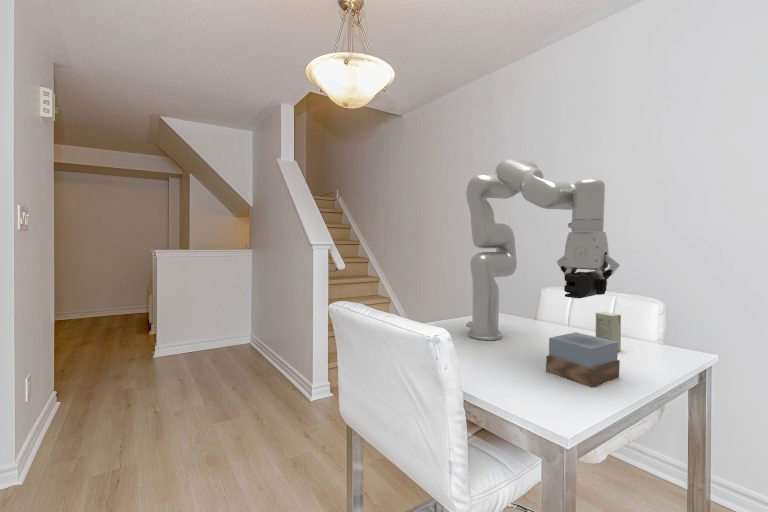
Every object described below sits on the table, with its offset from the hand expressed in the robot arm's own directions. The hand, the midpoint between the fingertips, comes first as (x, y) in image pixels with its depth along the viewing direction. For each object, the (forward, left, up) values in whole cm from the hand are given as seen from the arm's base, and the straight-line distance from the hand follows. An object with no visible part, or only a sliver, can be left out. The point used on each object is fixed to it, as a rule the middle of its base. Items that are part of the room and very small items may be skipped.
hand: (585, 291), depth 104 cm
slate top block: (0, 0, -18) cm, 18 cm away
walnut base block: (0, -1, -23) cm, 23 cm away
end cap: (0, 0, -1) cm, 1 cm away
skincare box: (-8, +29, -23) cm, 38 cm away
